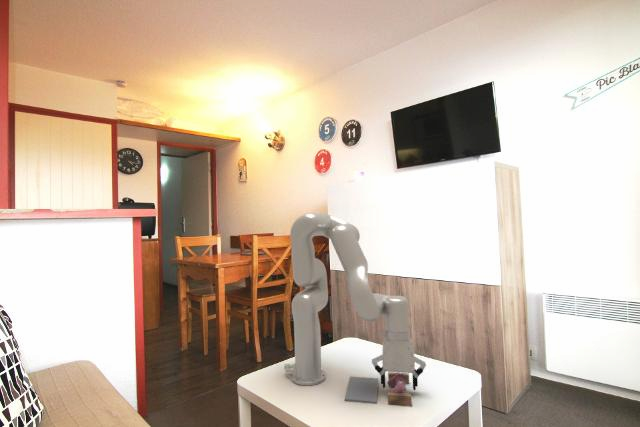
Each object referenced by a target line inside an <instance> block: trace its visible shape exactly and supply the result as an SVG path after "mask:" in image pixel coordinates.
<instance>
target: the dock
mask: <svg viewBox="0 0 640 427" xmlns="http://www.w3.org/2000/svg"><path fill="white" fill-rule="evenodd" d="M397 373H398V372H388V371H387V382H388V381H389V379H391V378H392V377H394V376H395V375H396V374H397ZM401 373H402V372H401ZM402 374H404V375H405V384H406V385H409V384H410V373H402ZM387 395H388V396H387V405H388V406H389V405H390V406H401V407H402V406H403V407H410V408H411V407H413V406H412V404H413V402H412V400H413V399H412V393H404V392H403V393H391V392H389V391H388V392H387Z"/></svg>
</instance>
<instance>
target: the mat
mask: <svg viewBox="0 0 640 427" xmlns="http://www.w3.org/2000/svg"><path fill="white" fill-rule="evenodd" d="M378 387H379V378H378V377H366V376H364V377H363V376H349V380H348V384H347V387H346V388H347V389H346V392H345V396H344V398H343V399H344V402H353V403H366V404H376V405H377V403H378V392H379V388H378Z"/></svg>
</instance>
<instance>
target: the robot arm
mask: <svg viewBox="0 0 640 427" xmlns="http://www.w3.org/2000/svg"><path fill="white" fill-rule="evenodd" d="M289 234H290V235H289V237H290V238H289V239H290V240H289V241H290V245H291V246H290V247H291V248H290V249H291V263H292V264H291V265H292V278H293V281H294V283H295V284H296V285H297V286H298V287H302V288H303V287H304V289H303V290H301V291H298V293H296V294H295V295H294V297H293V299H292V301H291V314H292V319H293V331H294V332H293V333H294V336H293V337H294V363H292V364H290V363H285V364H284V365H283V366H284V367H283V369H284V370H285V372H286V373H291V374H290V380H291V381H292V383H294V384H297V385H301V386H313V385H317V384H321V383H322V382H323V381H325V380H326V377H327V373H326V372H325V371H324V370H323V369H322V343H321V340H322V338H321V336H322V335H321V323H320V318H319V314H318V313H319V312H320V311H322V310H323V309H324V308H326V306H327V304H328V302H329V289H328V276H327V275H328V274H327V269H326V267H325V264H324V262H323V261H322V260H321V259H319V258H316V254H315V253H316V251H315V245H314V242H313V238H314V237H319V236H323V237H325V238H326V239H329V240H330V241H331V244H332V246H333V249H334V250H335V253H336V255H337V257H338V260H339V263H340V264H341V266H342V268H343V270H344V274H345V281H346V286H347V290H348V293H349V297H350V299H351V302H352V305H353V306H354V309H355V311H356V313H357V314H358V316H359V317H360V319H362V320H363V321H365V322H366V323H374V322H377V321H378V320H379V318H380V317H382V316H385V329H384V330H381V331H380V332H381V334H380V335H383V336H384V337H383V341H382V353H381V354H380V355H378V356H376V357H374V358H372V359H371V364H372V366H373V367H374V369H375V371H376V372H377V373H378V374H379V375H380V384H381V385H382V388H383V389H385V388H386V372H387V373H388V372H394V373H398V372H399V373H409V374H410V373H411V374H412V388H413V390H414V391H416V389H417V388H418V386H419V384H418V382H419V380H418V378H419V376H420V375H421V374H422V373H423V372H424V370H425V368H426V366H427V363H426V361H424V360H422V359H420V358H418V357H416V356H415V353H414V352H415V351H414V344H413V340H412V338H411V337H410V318H409V300H408V299H407V297H405V296H402V295H386V294H382V293H379V292H378V293H376V292H373V290H372V289H371V287H370V282H369V277H368V273H369V272H368V270H369V264H368V261H367V258H366V256H365V254H364V252H363V250H362V248H361V245H360V243H359V241H360V237H361V236H360V235H361V234H360V230H359V229H358V227H357V226H355V225H353V224H351V223H349V222H347V221H344V220H342V219H339V218H338V217H334V216H333V215H330V214H327V213H322V212H307V213H304V214H303V215H301V216H299V217H297V218H296V219H295V220H294V222H293V223H292V225H291V229H290V233H289ZM381 361H382V362H381ZM379 362H381V363H382V366H380V365H379V364H378V363H379ZM415 363H416V364H418V365H419V367H418V368H417V369H416V367H415Z"/></svg>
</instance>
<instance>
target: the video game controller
mask: <svg viewBox="0 0 640 427" xmlns="http://www.w3.org/2000/svg"><path fill="white" fill-rule="evenodd" d="M396 373H397V374H396V375H395V376H394V377H392V378H391V379H389V381H388V380H387V386H388V387H390V388H391V387H393V388H392V389H390V390H389V391H388V392H391V393H404V392H406V391H407V388H406V385H407V384H405V375H404V374H402V372H396ZM386 396H387V397H388V394H387V395H386Z"/></svg>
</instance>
